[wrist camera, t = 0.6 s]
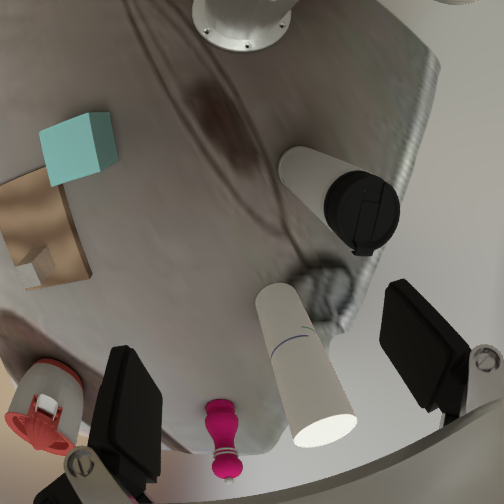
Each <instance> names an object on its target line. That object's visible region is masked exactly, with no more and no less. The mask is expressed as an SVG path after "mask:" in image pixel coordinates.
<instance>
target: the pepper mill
mask: <svg viewBox="0 0 504 504" xmlns="http://www.w3.org/2000/svg"><path fill="white" fill-rule="evenodd" d="M234 412H235V410H234V405H233V403H232V402H230V401H228V400H224V399H218V400H213V401H211V402H209V403H208V404H207V406H206V413H207V417H206V419H205V425H206V428H207V430H208V432H209V434H210V435H211V437H212V439H213V441H214V444H215V451H214V452H213V455H214V456H213V458H214V459H215V460H214V462H213V464H212V470H213V472H214V474H215V475H216V476H217V477H219V478H222V479H225V483H226V484H228V485H231V484H233V483H234V479H233V478H235V477H237V476H239V475H240V474H241V472H242V469H243V465H242V462H241V461H240V460H239V459H238V451H237V450H236V449H235V446H234V437H235V434H236V431H237V429H238V418H237V416H236V415H235V414H234Z"/></svg>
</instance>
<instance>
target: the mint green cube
mask: <svg viewBox="0 0 504 504" xmlns="http://www.w3.org/2000/svg"><path fill="white" fill-rule="evenodd" d="M39 135H40V140H41V145H42V150H43V155H44V159H45V164H46V168H47V172H48V176H49V180H50V184H51V187H53V186H56V185H59V184H62V183H65V182H68V181H71V180H74V179H77V178H80V177H84V176H87V175H90V174H94V173H97V172H100V171H102V170H104V169H105V168H107V167H109V166H110V165H112V164H114V163H115V162H117V161H119V159H118V154H117V150H116V145H115V140H114V134H113V129H112V123H111V118H110V112H88V113H85V114H83V115H80V116H77V117H74V118H72V119H69V120H67V121H64V122H61V123H59V124H56V125H54V126H52V127H49V128H47V129H45V130H42V131H40V132H39Z"/></svg>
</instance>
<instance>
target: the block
mask: <svg viewBox="0 0 504 504" xmlns="http://www.w3.org/2000/svg"><path fill="white" fill-rule="evenodd" d="M55 267H56V265H55V263H54V261H53V258H52V256H51V253H50V251H49V248H48V245H47V246H43V247H39V248H36V249H32V250H30V251H29V252H28V254H27V255H26V256H25V257H24V258H23V259H22V260H21V261H20V262H19V263H18V264H17V265H16V266H15V268H16V271H17V273H18V275H19V277H20V279H21V282H22V284H23V286H24V288H29V287H35V286H40V285H42V284H43V282H44V281H45V280H46V278H47V277H48V276H49V274H50V273H51V272H52V270H53V269H54V268H55Z"/></svg>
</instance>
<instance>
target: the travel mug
mask: <svg viewBox="0 0 504 504" xmlns="http://www.w3.org/2000/svg"><path fill="white" fill-rule="evenodd" d="M277 173H278V176H279V179H280V180H281V182H282V183H283V184H284V185H285V186H286V187H287V188H288V189H289V190H290V191H291V192H292V193H293V194H294V195H295V196H296V197H298V198H299V199H300V200H301V201H302V202H303V203H304V204H305V205H306V206H307V207H308V208H309V209H310V210H311V211H312V212H313V213H314V214H315V215H316V216H317V217H318V218H319V219H320V220H321V221H322V222H323V223H324V224H325V225H326V226H327V227H328V228H330V230H331V231H333V232H334V233H335V234H336V235H337V236H338V237H339V238H340V239H341V240H342V241H343V242H344V243H345V244H346V245H347V246H349V247H350V248H352V249H354V250H355V251H352V253H353V254H354V255H356V256H372V255H373V252H374V250H376V249H378V248H380V247H382V246H383V245H384V244H385V243H387V241H388V240H389V239H390V238H391V237H392V235H393V233H394V232H395V230H396V228H397V225H398V222H399V216H400V204H399V199H398V196H397V193H396V191H395V190H394V188H393V187H392V186H391V185H390V184H388V183H387V182H385V181H384V180H383V179H382V178H380V177H378V176H375V175H373V174H372V173H370V172H368V171H365V170H363V169H361V168H359V167H356V166H354V165H352V164H349V163H347V162H344V161H342V160H339V159H337V158H334V157H332V156H329V155H327V154H324V153H321V152H319V151H316V150H313V149H310V148H308V147H304V146H295V147H292V148H289V149H288V150H286V151H285V152H284V153H283V154H282V156H281V157H280V159H279V161H278V165H277Z"/></svg>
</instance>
